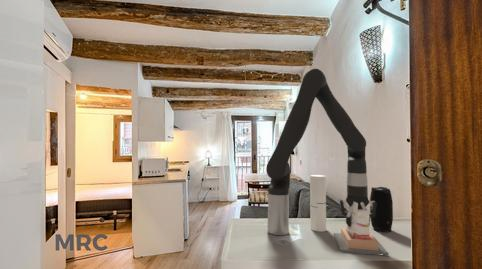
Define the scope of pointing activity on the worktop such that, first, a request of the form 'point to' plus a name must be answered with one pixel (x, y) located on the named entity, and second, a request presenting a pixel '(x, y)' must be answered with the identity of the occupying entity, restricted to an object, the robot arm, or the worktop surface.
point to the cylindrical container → (318, 202)
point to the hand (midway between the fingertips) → (357, 226)
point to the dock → (358, 244)
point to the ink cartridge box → (358, 223)
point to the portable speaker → (382, 209)
